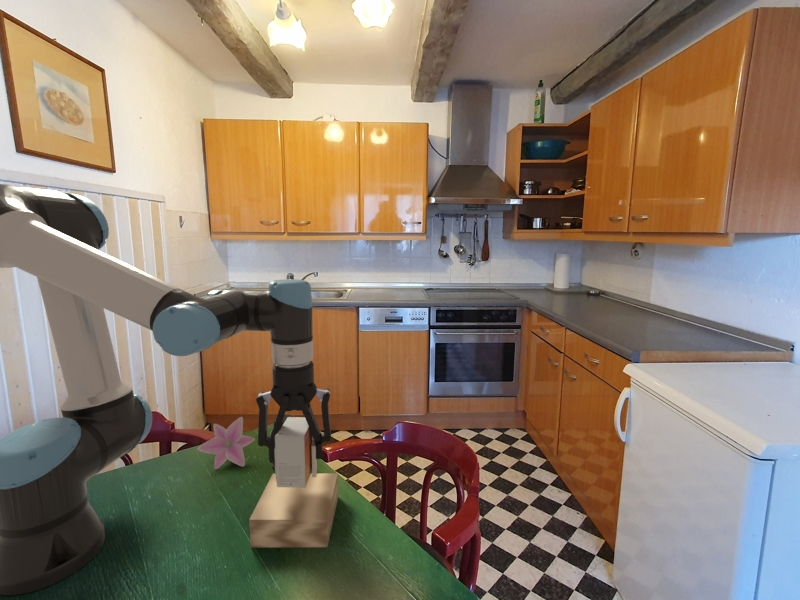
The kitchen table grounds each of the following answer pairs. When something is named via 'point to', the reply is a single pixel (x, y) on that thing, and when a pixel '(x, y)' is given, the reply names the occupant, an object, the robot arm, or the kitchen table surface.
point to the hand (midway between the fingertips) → (296, 474)
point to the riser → (295, 513)
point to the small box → (293, 453)
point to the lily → (227, 444)
